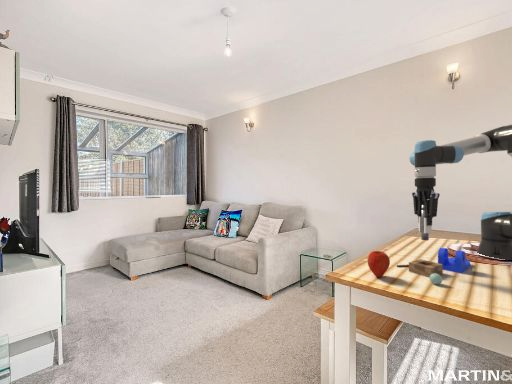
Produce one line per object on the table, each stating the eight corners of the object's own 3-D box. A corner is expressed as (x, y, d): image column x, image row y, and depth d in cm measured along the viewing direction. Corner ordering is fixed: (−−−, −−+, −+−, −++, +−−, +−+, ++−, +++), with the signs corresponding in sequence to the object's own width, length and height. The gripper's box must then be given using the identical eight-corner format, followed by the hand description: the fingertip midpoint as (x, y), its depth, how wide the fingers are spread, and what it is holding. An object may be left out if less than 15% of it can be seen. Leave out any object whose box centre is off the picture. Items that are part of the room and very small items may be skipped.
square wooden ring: (420, 267, 115) (420, 259, 115) (442, 273, 108) (442, 264, 107) (408, 271, 111) (408, 262, 111) (431, 277, 103) (431, 268, 103)
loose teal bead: (436, 281, 99) (436, 271, 99) (445, 285, 95) (445, 275, 95) (427, 282, 99) (427, 272, 99) (434, 286, 95) (434, 275, 95)
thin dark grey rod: (425, 265, 119) (425, 263, 119) (427, 265, 118) (427, 264, 118) (396, 266, 118) (396, 265, 118) (397, 267, 117) (397, 265, 117)
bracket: (461, 273, 107) (461, 252, 107) (437, 269, 114) (437, 249, 114) (472, 264, 118) (472, 245, 118) (450, 260, 125) (450, 242, 125)
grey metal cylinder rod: (425, 238, 110) (425, 204, 110) (430, 240, 108) (430, 205, 107) (419, 239, 110) (419, 204, 110) (424, 240, 107) (424, 205, 107)
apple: (392, 281, 101) (392, 254, 100) (369, 279, 103) (368, 253, 103) (387, 273, 109) (387, 248, 108) (366, 272, 111) (366, 248, 111)
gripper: (404, 178, 116) (404, 229, 116) (430, 177, 100) (430, 236, 101) (420, 177, 116) (420, 228, 117) (448, 176, 100) (448, 235, 101)
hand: (425, 232), depth 109 cm, fingers closed on grey metal cylinder rod, 2 cm apart
